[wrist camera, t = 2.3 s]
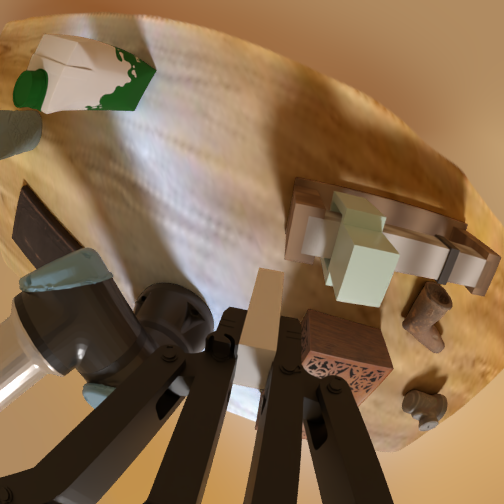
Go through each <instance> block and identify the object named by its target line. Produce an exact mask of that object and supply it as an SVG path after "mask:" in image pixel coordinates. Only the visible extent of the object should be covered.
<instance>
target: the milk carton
mask: <svg viewBox="0 0 504 504" xmlns="http://www.w3.org/2000/svg"><path fill="white" fill-rule="evenodd" d="M155 72H156V70H155V69H154V68H152V67H151V66H149V65H148V64H147V63H145V62H144V61H142V60H141V59H139V58H138V57H136V56H135V55H133V54H131V53H129V52H127V51H125V50H122V49H120V48H117V47H114V46H111V45H109V44H106V43H103V42H100V41H96V40H93V39H88V38H83V37H79V36H70V35H58V34H44V35H43V37H42V39H41V41H40V43H39V45H38V47H37V49H36V51H35V54H33V55H32V57H31V60H30V63H29V66H28V68H27V70H26V71H24V72H23V73H22V74H21V75H20V76H19V78H18V79H17V81H16V84H15V87H14V91H13V102H14V105H15V106H16V107H18V108H21V107H30V108H32V109H37V110H39V111H40V112H42V111H43V112H44V113H45V114H49V113H53V112H58V111H63V110H117V111H134V110H135V108H136V107H137V105H138V103H139V101H140V99H141V97H142V95H143V93H144V91H145V90H146V88H147V86H148V84H149V83H150V81H151V79H152V77H153V76H154V74H155Z"/></svg>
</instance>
